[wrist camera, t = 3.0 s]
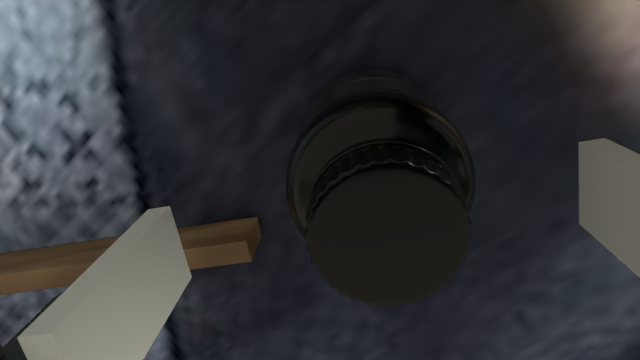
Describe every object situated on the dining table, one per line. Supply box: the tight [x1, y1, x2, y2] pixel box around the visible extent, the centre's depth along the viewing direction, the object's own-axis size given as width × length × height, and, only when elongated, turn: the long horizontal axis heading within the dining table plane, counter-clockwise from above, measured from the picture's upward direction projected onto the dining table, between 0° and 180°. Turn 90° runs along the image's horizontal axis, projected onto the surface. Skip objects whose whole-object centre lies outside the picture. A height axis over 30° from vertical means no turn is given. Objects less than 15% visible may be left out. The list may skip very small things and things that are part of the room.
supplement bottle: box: [286, 67, 475, 307], centre depth 19 cm, size 7×7×12 cm
